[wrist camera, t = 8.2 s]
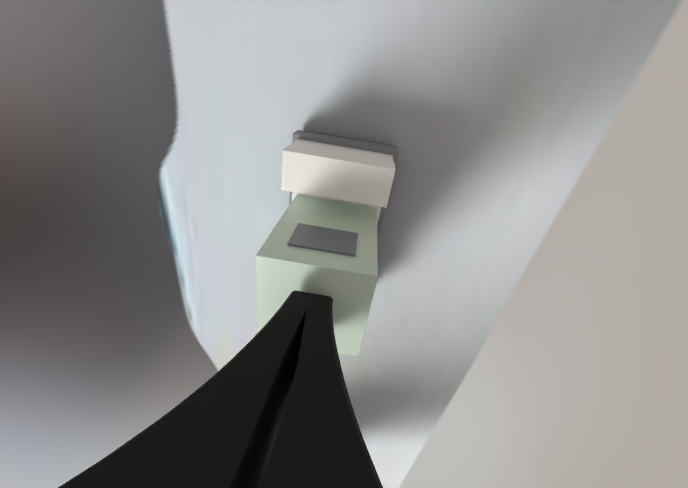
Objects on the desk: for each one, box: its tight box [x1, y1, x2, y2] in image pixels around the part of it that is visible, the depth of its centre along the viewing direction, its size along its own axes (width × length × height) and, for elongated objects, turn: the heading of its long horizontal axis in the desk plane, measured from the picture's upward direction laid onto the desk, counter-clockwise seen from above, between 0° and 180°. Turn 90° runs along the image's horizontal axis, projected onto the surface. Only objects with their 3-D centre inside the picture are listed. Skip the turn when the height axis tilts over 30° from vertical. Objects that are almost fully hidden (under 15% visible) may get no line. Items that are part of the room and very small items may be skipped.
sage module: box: [256, 195, 378, 356], centre depth 12 cm, size 4×4×6 cm
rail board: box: [281, 130, 398, 236], centre depth 15 cm, size 9×5×3 cm, turn 172°
